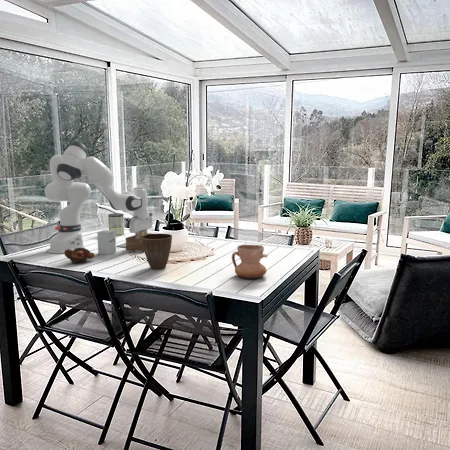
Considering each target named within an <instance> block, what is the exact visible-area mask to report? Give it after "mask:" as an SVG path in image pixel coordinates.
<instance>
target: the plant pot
mask: <svg viewBox="0 0 450 450" xmlns="http://www.w3.org/2000/svg"><path fill="white" fill-rule="evenodd" d="M141 238H142V243H143V248H144V251H145V252H144V251H143V252H144V255H145V257H146V260H147V262H148V265H149V267H150V269H151V270H155V271H157V270H164V269H166V267H167V265H168V262H169V258H170V254H171V250H172V249H171V248H172V243H173V242H172V240H173V235H172V234H169V233H152V234H148V235H144V236H142V237H141Z"/></svg>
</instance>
